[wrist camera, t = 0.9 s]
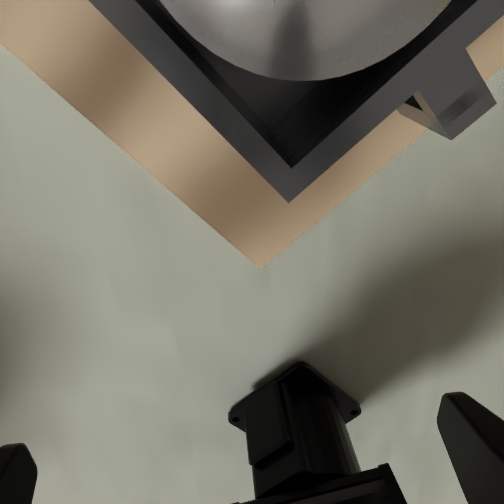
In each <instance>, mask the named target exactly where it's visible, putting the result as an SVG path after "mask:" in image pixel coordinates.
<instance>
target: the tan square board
mask: <svg viewBox="0 0 504 504" xmlns="http://www.w3.org/2000/svg"><path fill="white" fill-rule="evenodd" d="M0 44H2V45H3V46H4V47H5V48H6V49H7V50H8V51H10V52H11V53H12V54H13V55H14V56H15V57H17V58H18V59H19V60H20V61H21V62H22V63H23V64H25V65H26V66H27V67H28V68H29V69H30V70H31V71H33V72H34V73H35V74H36V75H37V76H38V77H40V78H41V79H42V80H43V81H44V82H45V83H46V84H48V85H49V86H50V87H51V88H52V89H53V90H55V91H56V92H57V93H58V94H59V95H60V96H61V97H63V98H64V99H65V100H66V101H67V102H68V103H69V104H71V105H72V106H73V107H74V108H75V109H76V110H78V111H79V112H80V113H81V114H82V115H83V116H84V117H86V118H87V119H88V120H89V121H90V122H91V123H93V124H94V125H95V126H96V127H97V128H98V129H99V130H101V131H102V132H103V133H104V134H105V135H106V136H107V137H109V138H110V139H111V140H112V141H113V142H114V143H116V144H117V145H118V146H119V147H120V148H121V149H122V150H124V151H125V152H126V153H127V154H128V155H129V156H131V157H132V158H133V159H134V160H135V161H136V162H137V163H139V164H140V165H141V166H142V167H143V168H144V169H145V170H147V171H148V172H149V173H150V174H151V175H152V176H154V177H155V178H156V179H157V180H158V181H159V182H160V183H162V184H163V185H164V186H165V187H166V188H167V189H169V190H170V191H171V192H172V193H173V194H174V195H175V196H177V197H178V198H179V199H180V200H181V201H182V202H183V203H185V204H186V205H187V206H188V207H189V208H190V209H192V210H193V211H194V212H195V213H196V214H197V215H198V216H200V217H201V218H202V219H203V220H204V221H205V222H207V223H208V224H209V225H210V226H211V227H212V228H213V229H215V230H216V231H217V232H218V233H219V234H220V235H221V236H223V237H224V238H225V239H226V240H227V241H228V242H230V243H231V244H232V245H233V246H234V247H235V248H236V249H238V250H239V251H240V252H241V253H242V254H243V255H245V256H246V257H247V258H248V259H249V260H250V261H251V262H253V263H254V264H255V265H256V266H257V267H258V268H259V269H262V268H263V267H264V266H265V265H266V264H268V263H269V262H270V261H271V260H272V259H273V258H275V257H276V256H277V255H278V254H279V253H281V252H282V251H283V250H284V249H285V248H287V247H288V246H289V245H290V244H291V243H293V242H294V241H295V240H296V239H297V238H299V237H300V236H301V235H302V234H303V233H305V232H306V231H307V230H308V229H309V228H310V227H312V226H313V225H314V224H315V223H316V222H318V221H319V220H320V219H321V218H322V217H324V216H325V215H326V214H327V213H328V212H330V211H331V210H332V209H333V208H334V207H336V206H337V205H338V204H339V203H340V202H342V201H343V200H344V199H345V198H346V197H348V196H349V195H350V194H351V193H352V192H353V191H355V190H356V189H357V188H358V187H359V186H361V185H362V184H363V183H364V182H365V181H367V180H368V179H369V178H370V177H371V176H373V175H374V174H375V173H376V172H377V171H379V170H380V169H381V168H382V167H383V166H385V165H386V164H387V163H388V162H389V161H390V160H392V159H393V158H394V157H395V156H396V155H398V154H399V153H400V152H401V151H402V150H404V149H405V148H406V147H407V146H408V145H410V144H411V143H412V142H413V141H414V140H416V139H417V138H418V137H419V136H420V135H422V134H423V133H424V132H425V131H426V130H428V128H426V127H424V126H422V125H420V124H418V123H416V122H414V121H412V120H411V119H409V118H407V117H405V116H403V115H401V114H399V112H398V111H397V109H396V110H395V111H394V112H392V113H391V114H390V115H389V116H388V117H387V118H386V119H384V120H383V121H382V122H381V123H380V124H379V125H378V126H376V127H375V128H374V129H373V130H372V131H371V132H370V133H368V134H367V135H366V136H365V137H364V138H363V139H362V140H360V141H359V142H358V143H357V144H356V145H355V146H354V147H353V148H351V149H350V150H349V151H348V152H347V153H346V154H345V155H343V156H342V157H341V158H340V159H339V160H338V161H337V162H335V163H334V164H333V165H332V166H331V167H330V168H329V169H327V170H326V171H325V172H324V173H323V174H322V175H321V176H319V177H318V178H317V179H316V180H315V181H314V182H313V183H311V184H310V185H309V186H308V187H307V188H306V189H305V190H303V191H302V192H301V193H300V194H299V195H298V196H297V197H295V198H294V199H293V200H292V201H291V202H290V203H288V202H287V201H286V200H285V199H284V198H283V197H282V196H281V195H280V194H279V193H278V192H277V191H276V190H275V189H274V188H273V187H272V186H271V185H270V184H269V183H268V182H267V181H266V180H265V179H264V178H263V177H262V176H261V175H260V174H259V173H258V172H257V171H256V170H255V169H254V168H253V167H252V166H251V165H250V164H249V163H248V162H247V161H246V160H245V159H244V158H243V157H242V156H241V155H240V154H239V153H238V152H237V151H236V150H235V149H234V148H233V147H232V146H231V144H230V143H229V142H228V141H227V140H226V139H225V138H224V137H223V136H222V135H221V134H220V133H219V132H218V131H217V130H216V129H215V128H214V127H213V126H212V125H211V124H210V123H209V122H208V121H207V120H206V119H205V118H204V117H203V116H202V115H201V114H200V113H199V112H198V111H197V110H196V109H195V108H194V107H193V106H192V105H191V104H190V103H189V102H188V101H187V100H186V99H185V98H184V97H183V96H182V95H181V94H180V93H179V92H178V91H177V90H176V89H175V88H174V87H173V86H172V85H171V84H170V83H169V82H168V81H167V80H166V79H165V78H164V77H163V76H162V75H161V74H160V73H159V72H158V70H157V69H156V68H155V67H154V66H153V65H152V64H151V63H150V62H149V61H148V60H147V59H146V58H145V57H144V56H143V55H142V54H141V53H140V52H139V51H138V50H137V49H136V48H135V47H134V46H133V45H132V44H131V43H130V42H129V41H128V40H127V39H126V38H125V37H124V36H123V35H122V34H121V33H120V32H119V31H118V30H117V29H116V28H115V27H114V26H113V25H112V24H111V23H110V22H109V21H108V20H107V19H106V18H105V17H104V16H103V15H102V14H101V13H100V12H99V11H98V10H97V9H96V8H95V7H94V6H93V5H92V4H91V3H90V2H89V1H88V0H0ZM466 50H467V52H468V54H469V55H470V57H471V59H472V61H473V63H474V64H475V66H476V68H477V70H478V71H479V73H480V75H481V77H482V78H483V80H484V82H485V81H486V80H487V79H488V78H490V77H491V76H492V75H493V74H494V73H496V72H497V71H498V70H499V69H500V68H502V67H503V66H504V15H503V16H502V17H501V18H500V19H499V20H497V21H496V22H495V23H494V24H493V25H492V26H491V27H489V28H488V29H487V30H486V31H485V32H484V33H483V34H481V35H480V36H479V37H478V38H477V39H476V40H475V41H474V42H472V43H471V44H470V45H469V46H468V47H467V48H466Z"/></svg>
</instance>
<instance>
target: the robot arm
mask: <svg viewBox="0 0 504 504" xmlns="http://www.w3.org/2000/svg"><path fill="white" fill-rule="evenodd" d="M299 370H302V371H299ZM360 414H361V408H360V405H359V404H358V403H357V402H356V401H354V400H353V399H352V398H351V397H349V396H348V395H347V394H345V393H344V392H343V391H342V390H340V389H339V388H338V387H336V386H335V385H334V384H333V383H331V382H330V381H329V380H327V379H326V378H325V377H324V376H322V375H321V374H320V373H318V372H317V371H316V370H315V369H313V368H312V367H311V366H309V365H308V364H307V363H305V362H298V363H296V364H294V365H293V366H291V367H290V368H289V369H287V370H286V371H285V372H283V373H282V374H280V375H279V376H278V377H276V378H275V379H274V380H272V381H271V382H269V383H268V384H267V385H265V386H264V387H263V388H261V389H260V390H258V391H257V392H256V393H254V394H253V395H251V396H250V397H249V398H247V399H246V400H245V401H243V402H242V403H240V404H239V405H238V406H236V407H235V408H234V409H232V410H231V411H230V412H229V413H228V420H229V422H230V423H231V424H232V425H234V426H236V427H237V428H239V429H241V430H242V431H244V432H246V439H247V450H248V460H249V464H250V465H251V466H252V472H253V482H254V492H255V500H251V501H247V502H244V503H239V502H236V503H232V504H407V502H406V500H405V498H404V496H403V494H402V491H401V489H400V487H399V485H398V483H397V481H396V479H395V476H394V474H393V472H392V470H391V468H390V466H389V464H388V463H385V464H381V465H378V467H377V468H374V469H370V470H366V471H362V472H361V469H360V466H359V463H358V460H357V457H356V454H355V451H354V448H353V445H352V443H351V440H350V437H349V434H348V431H347V428H346V425H345V424H346V423H348V422H349V421H351V420H353V419H354V418H356V417H357V416H359V415H360ZM437 425H438V429H439V431H440V434H441V437H442V439H443V442H444V444H445V447H446V449H447V452H448V454H449V457H450V460H451V462H452V465H453V467H454V470H455V472H456V475H457V478H458V480H459V483H460V485H461V488H462V490H463V493H464V495H465V497H466V500H467V502H468V504H504V420H502V419H501V418H499V417H498V416H497V415H495V414H494V413H492V412H491V411H490V410H488V409H487V408H485V407H484V406H483V405H481V404H480V403H478V402H477V401H476V400H474V399H473V398H471V397H470V396H469V395H467V394H466V393H463V392H452V393H445V394H444V395H443V396H442V399H441V403H440V407H439V411H438V416H437ZM36 481H37V466H36V464H35V462H34V460H33V458H32V456H31V454H30V452H29V450H28V448H27V446H26V445H25V444H23V443H15V444H7V445H4V446H2V447H0V504H32V499H33V495H34V490H35V485H36Z"/></svg>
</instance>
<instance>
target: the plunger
mask: <svg viewBox="0 0 504 504" xmlns="http://www.w3.org/2000/svg"><path fill="white" fill-rule="evenodd" d="M160 1H161V3H162V4H163V5H164V6H165V8H166V9H167V10H168V11H169V13H170V14H171V15H172V16H173V18H174V19H175V20H176V21H177V22H178V23H179V24H180V25H181V26H182V27H183V28H184V29H185V30H186V31H187V32H188V33H189V34H190V35H191V36H192V37H193V38H194V39H196V40H197V41H198V42H200V43H201V44H202V45H204V46H205V47H206V48H207V49H209V50H210V51H211V52H213V53H214V54H216V55H218V56H219V57H221V58H223V59H225V60H226V61H228V62H230V63H232V64H233V65H235V66H238V67H240V68H243V69H245V70H248V71H250V72H253V73H255V74H259V75H263V76H267V77H271V78H275V79H282V80H293V81H312V80H324V79H329V78H334V77H340V76H344V75H347V74H350V73H353V72H356V71H359V70H362V69H364V68H366V67H368V66H371V65H373V64H375V63H377V62H379V61H381V60H383V59H385V58H386V57H388V56H390V55H391V54H393V53H394V52H396V51H397V50H399V49H400V48H402V47H403V46H405V45H406V44H407V43H409V42H410V41H411V40H412V39H413V38H415V37H416V36H417V35H418V34H420V33H421V32H422V31H423V30H424V29H425V28H426V27H427V26H428V25H429V24H430V23H431V22H432V21H433V20H434V19H435V18H436V17H437V16H438V15H439V14H440V13H441V12H442V11H443V10H444V9H445V7H446V6H447V5H448V4H449V2H450V1H451V0H160Z"/></svg>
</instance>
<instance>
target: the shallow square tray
mask: <svg viewBox="0 0 504 504" xmlns="http://www.w3.org/2000/svg"><path fill="white" fill-rule="evenodd" d="M88 1H89V2H90V3H91V4H92V5H93V6H94V7H95V8H96V9H97V10H98V11H99V12H100V13H101V14H102V15H103V16H104V17H105V18H106V19H107V20H108V21H109V22H110V23H111V24H112V25H113V26H114V27H115V28H116V29H117V30H118V31H119V32H120V33H121V34H122V35H123V36H124V37H125V38H126V39H127V40H128V41H129V42H130V43H131V44H132V45H133V46H134V47H135V48H136V49H137V50H138V51H139V52H140V53H141V54H142V55H143V56H144V57H145V58H146V59H147V60H148V61H149V62H150V63H151V64H152V65H153V66H154V67H155V68H156V69H157V70H158V72H159V73H160V74H161V75H162V76H163V77H164V78H165V79H166V80H167V81H168V82H169V83H170V84H171V85H172V86H173V87H174V88H175V89H176V90H177V91H178V92H179V93H180V94H181V95H182V96H183V97H184V98H185V99H186V100H187V101H188V102H189V103H190V104H191V105H192V106H193V107H194V108H195V109H196V110H197V111H198V112H199V113H200V114H201V115H202V116H203V117H204V118H205V119H206V120H207V121H208V122H209V123H210V124H211V125H212V126H213V127H214V128H215V129H216V130H217V131H218V132H219V133H220V134H221V135H222V136H223V137H224V138H225V139H226V140H227V141H228V142H229V143H230V144H231V146H232V147H233V148H234V149H235V150H236V151H237V152H238V153H239V154H240V155H241V156H242V157H243V158H244V159H245V160H246V161H247V162H248V163H249V164H250V165H251V166H252V167H253V168H254V169H255V170H256V171H257V172H258V173H259V174H260V175H261V176H262V177H263V178H264V179H265V180H266V181H267V182H268V183H269V184H270V185H271V186H272V187H273V188H274V189H275V190H276V191H277V192H278V193H279V194H280V195H281V196H282V197H283V198H284V199H285V200H286V201H287V202H288V203H290V202H291V201H292V200H293V199H294V198H295V197H297V196H298V195H299V194H300V193H301V192H302V191H303V190H305V189H306V188H307V187H308V186H309V185H310V184H311V183H313V182H314V181H315V180H316V179H317V178H318V177H319V176H321V175H322V174H323V173H324V172H325V171H326V170H327V169H329V168H330V167H331V166H332V165H333V164H334V163H335V162H337V161H338V160H339V159H340V158H341V157H342V156H343V155H345V154H346V153H347V152H348V151H349V150H350V149H351V148H353V147H354V146H355V145H356V144H357V143H358V142H359V141H360V140H362V139H363V138H364V137H365V136H366V135H367V134H368V133H370V132H371V131H372V130H373V129H374V128H375V127H376V126H378V125H379V124H380V123H381V122H382V121H383V120H384V119H386V118H387V117H388V116H389V115H390V114H391V113H392V112H394V111H395V110H396V109H397V111H398V112H399V114H401V115H403V116H405V117H407V118H409V119H411V120H412V121H414V122H416V123H418V124H420V125H422V126H424V127H426V128H428V129H430V130H432V131H434V132H436V133H438V134H440V135H442V136H444V137H446V138H448V139H450V140H452V139H454V138H455V137H456V136H457V135H459V134H460V133H461V132H462V131H463V130H465V129H466V128H467V127H468V126H470V125H471V124H472V123H473V122H475V121H476V120H477V119H478V118H479V117H481V116H482V115H483V114H484V113H486V112H487V111H488V110H489V109H491V108H492V107H493V106H494V105H495V104H497V103H496V101H495V100H494V98H493V96H492V94H491V93H490V91H489V89H488V87H487V86H486V84H485V82H484V80H483V78H482V77H481V75H480V73H479V71H478V70H477V68H476V66H475V64H474V63H473V61H472V59H471V57H470V55H469V54H468V52H467V50H466V48H467V47H468V46H469V45H470V44H471V43H472V42H474V41H475V40H476V39H477V38H478V37H479V36H480V35H481V34H483V33H484V32H485V31H486V30H487V29H488V28H489V27H491V26H492V25H493V24H494V23H495V22H496V21H497V20H499V19H500V18H501V17H502V16H503V15H504V0H451V1H450V2H449V4H448V5H447V6H446V7H445V9H444V10H443V11H442V12H441V13H440V14H439V15H438V16H437V17H436V18H435V19H434V20H433V21H432V22H431V23H430V24H429V25H428V26H427V27H426V28H425V29H424V30H423V31H422V32H421V33H420V34H418V35H417V36H416V37H415V38H413V39H412V40H411V41H410V42H409V43H407V44H406V45H405V46H403V47H402V48H400V49H399V50H397V51H396V52H394V53H393V54H391V55H390V56H388V57H386V58H385V59H383V60H381V61H379V62H377V63H375V64H373V65H371V66H368V67H366V68H364V69H362V70H359V71H356V72H353V73H350V74H347V75H344V76H340V77H334V78H329V79H324V80H312V81H293V80H282V79H275V78H271V77H267V76H263V75H259V74H255V73H253V72H250V71H248V70H245V69H243V68H240V67H238V66H235V65H233V64H232V63H230V62H228V61H226V60H225V59H223V58H221V57H219V56H218V55H216V54H214V53H213V52H211V51H210V50H209V49H207V48H206V47H205V46H204V45H202V44H201V43H200V42H198V41H197V40H196V39H194V38H193V37H192V36H191V35H190V34H189V33H188V32H187V31H186V30H185V29H184V28H183V27H182V26H181V25H180V24H179V23H178V22H177V21H176V20H175V19H174V18H173V16H172V15H171V14H170V13H169V11H168V10H167V9H166V8H165V6H164V5H163V4H162V3H161V1H160V0H88Z"/></svg>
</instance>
